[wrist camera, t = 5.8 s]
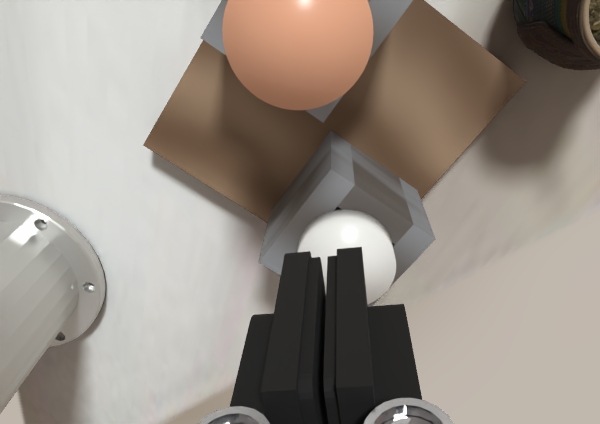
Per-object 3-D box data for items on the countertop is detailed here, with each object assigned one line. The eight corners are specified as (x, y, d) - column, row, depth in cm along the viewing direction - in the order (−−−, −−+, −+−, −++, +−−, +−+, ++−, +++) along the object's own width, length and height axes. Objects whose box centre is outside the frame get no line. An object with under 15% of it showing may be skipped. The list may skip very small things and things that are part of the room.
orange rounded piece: (319, 96, 23) (315, 137, 18) (227, 31, 22) (195, 55, 17) (386, 1, 21) (405, 15, 16) (290, -75, 20) (275, -86, 15)
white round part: (351, 262, 31) (355, 323, 26) (286, 221, 30) (276, 276, 25) (401, 204, 29) (417, 259, 24) (334, 158, 28) (334, 205, 23)
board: (351, 259, 36) (356, 335, 28) (153, 134, 32) (103, 185, 25) (514, 73, 29) (573, 111, 22) (291, -104, 26) (276, -127, 19)
